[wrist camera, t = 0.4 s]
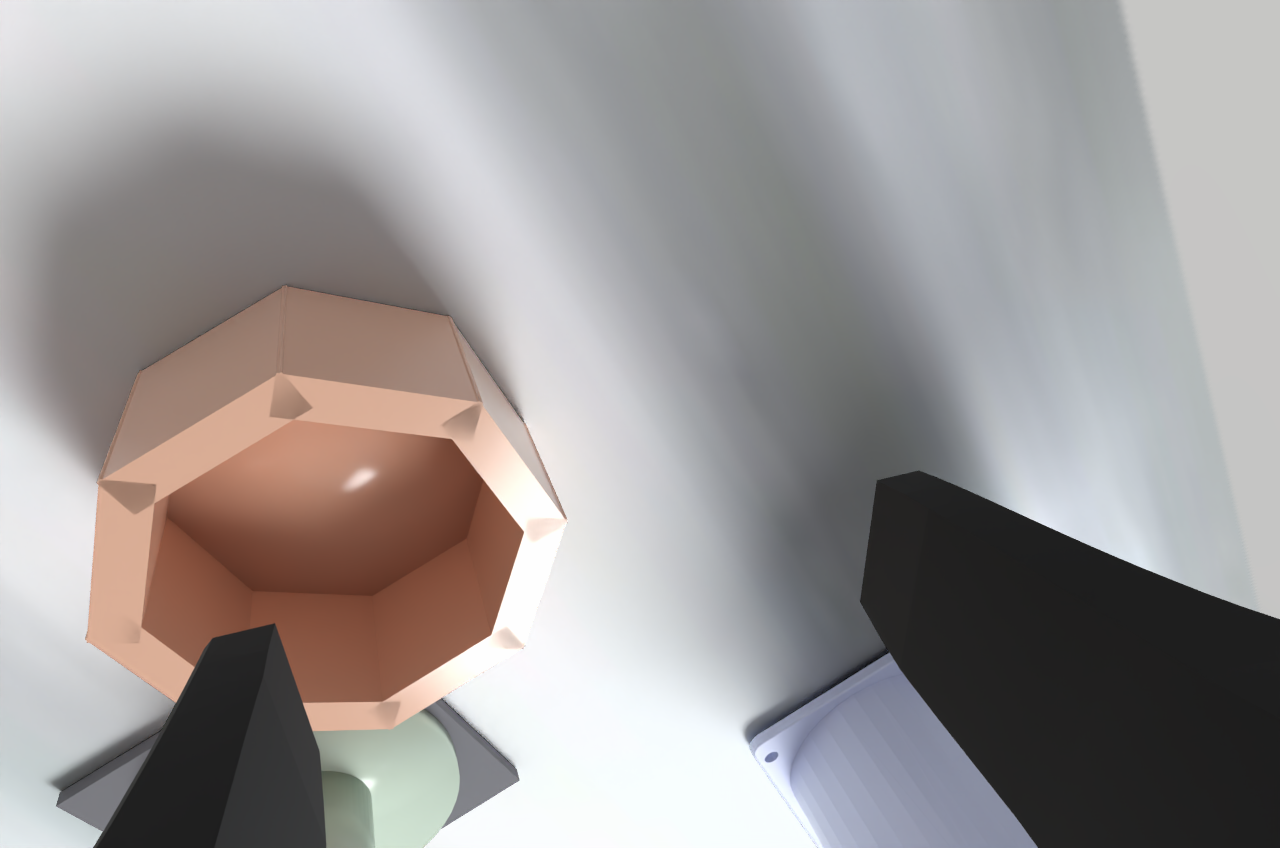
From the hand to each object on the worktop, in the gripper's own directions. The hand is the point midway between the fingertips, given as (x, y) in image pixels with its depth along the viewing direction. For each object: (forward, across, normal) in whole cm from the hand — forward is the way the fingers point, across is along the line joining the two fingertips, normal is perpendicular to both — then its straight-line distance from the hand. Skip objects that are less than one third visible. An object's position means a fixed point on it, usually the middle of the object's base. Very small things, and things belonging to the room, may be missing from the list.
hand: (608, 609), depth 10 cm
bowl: (+10, +4, +3) cm, 11 cm away
